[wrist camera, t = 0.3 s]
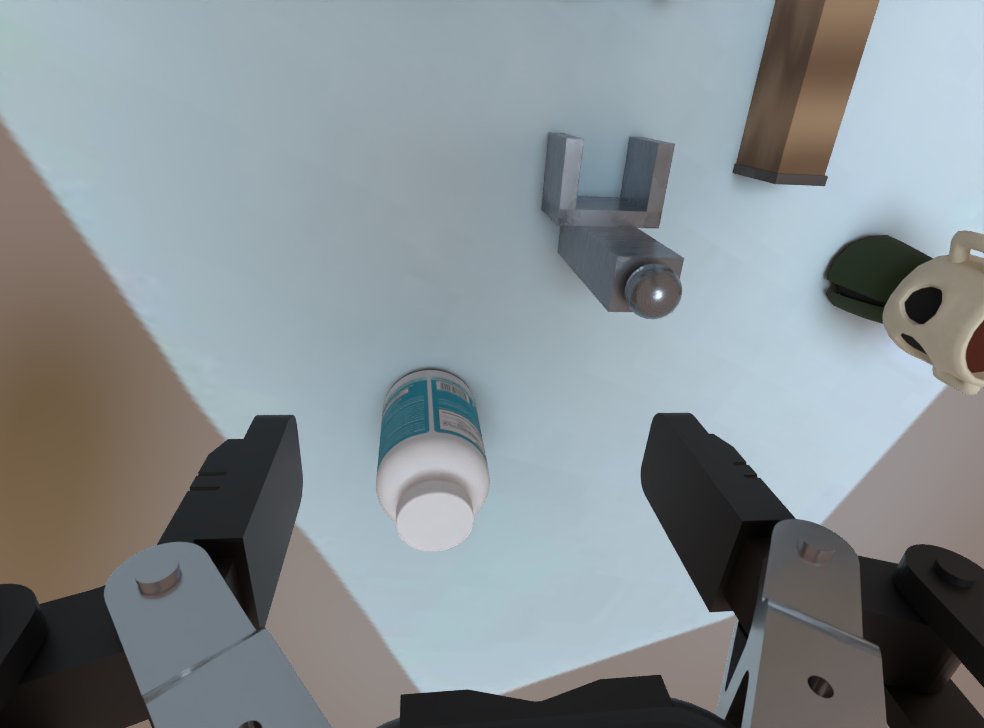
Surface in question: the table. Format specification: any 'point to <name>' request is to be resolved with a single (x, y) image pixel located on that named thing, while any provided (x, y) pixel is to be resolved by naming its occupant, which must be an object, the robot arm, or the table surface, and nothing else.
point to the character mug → (921, 301)
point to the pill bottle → (431, 460)
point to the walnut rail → (803, 89)
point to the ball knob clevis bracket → (615, 227)
